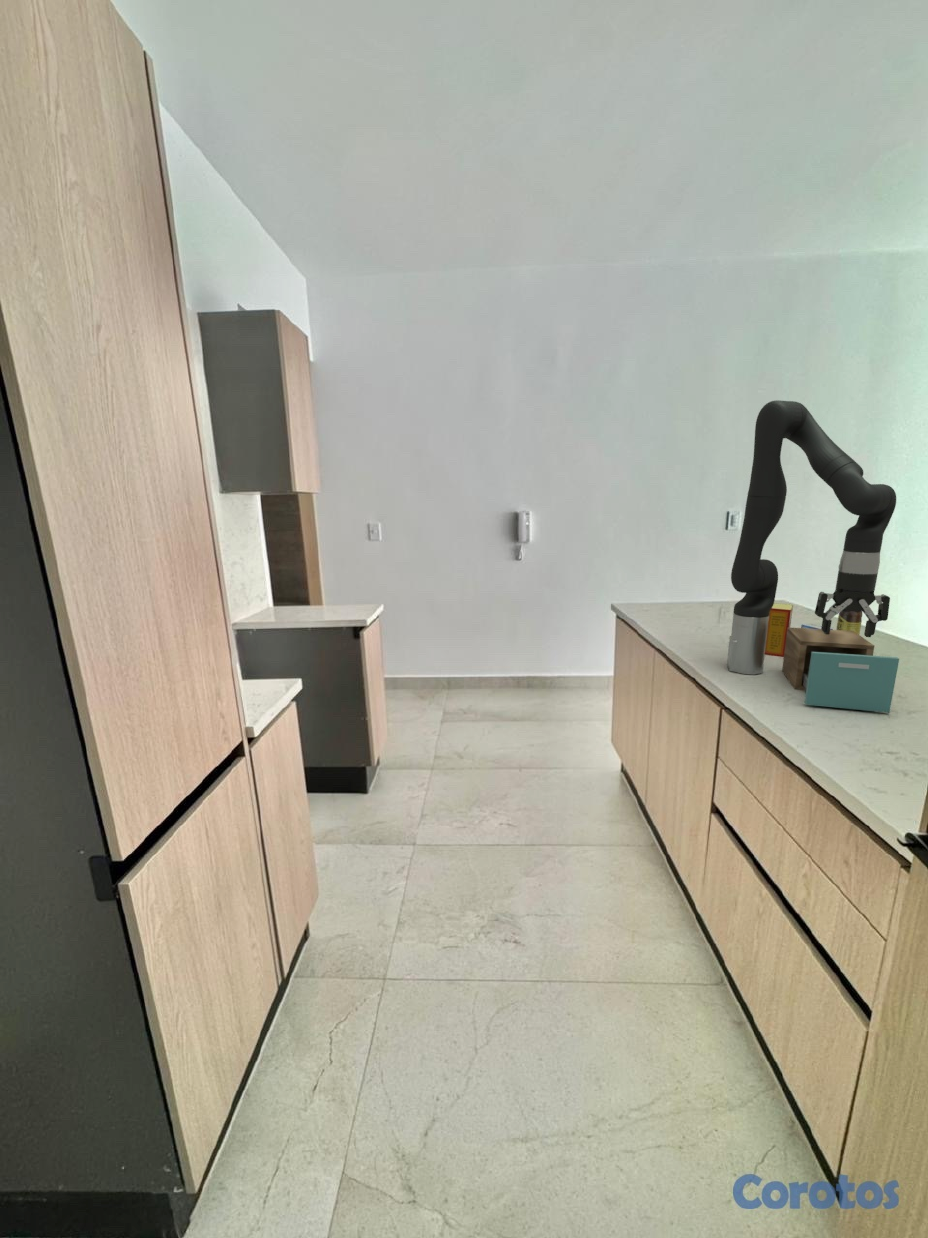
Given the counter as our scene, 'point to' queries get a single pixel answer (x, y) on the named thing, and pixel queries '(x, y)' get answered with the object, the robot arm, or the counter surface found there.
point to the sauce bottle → (849, 621)
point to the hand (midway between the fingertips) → (846, 635)
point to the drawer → (850, 681)
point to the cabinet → (818, 649)
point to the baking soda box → (778, 629)
